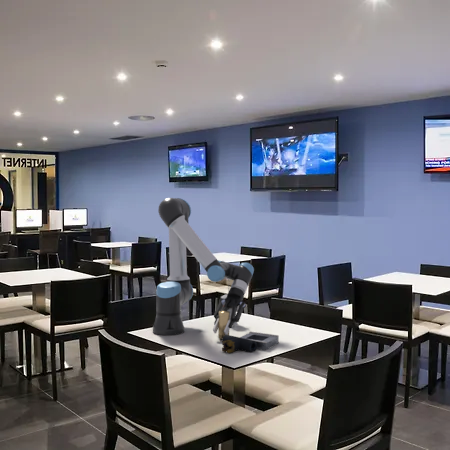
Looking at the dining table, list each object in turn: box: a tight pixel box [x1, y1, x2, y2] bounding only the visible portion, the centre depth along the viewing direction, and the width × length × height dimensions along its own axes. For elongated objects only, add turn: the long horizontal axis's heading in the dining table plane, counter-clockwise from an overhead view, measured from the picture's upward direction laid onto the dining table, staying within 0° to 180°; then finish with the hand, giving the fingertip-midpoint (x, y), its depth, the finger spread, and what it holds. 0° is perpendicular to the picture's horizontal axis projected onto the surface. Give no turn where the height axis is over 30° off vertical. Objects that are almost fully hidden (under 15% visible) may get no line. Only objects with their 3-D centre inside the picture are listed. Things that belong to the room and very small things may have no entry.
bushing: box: [217, 311, 230, 340], centre depth 234 cm, size 5×5×12 cm
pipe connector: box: [221, 334, 257, 354], centre depth 216 cm, size 12×5×15 cm
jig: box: [240, 331, 279, 351], centre depth 226 cm, size 14×14×3 cm
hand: (219, 332), depth 230 cm, fingers closed on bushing, 5 cm apart
